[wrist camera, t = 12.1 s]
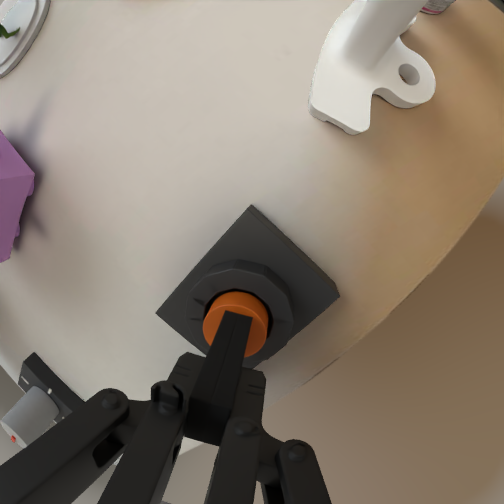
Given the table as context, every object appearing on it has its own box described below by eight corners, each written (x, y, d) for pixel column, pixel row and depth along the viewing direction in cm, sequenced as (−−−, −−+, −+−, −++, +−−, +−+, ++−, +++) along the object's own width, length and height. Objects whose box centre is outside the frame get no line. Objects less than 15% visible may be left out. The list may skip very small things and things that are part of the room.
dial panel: (90, 404, 28) (80, 417, 25) (74, 422, 30) (65, 433, 28) (34, 349, 26) (22, 360, 24) (26, 376, 29) (16, 385, 26)
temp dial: (34, 380, 25) (-2, 418, 17) (62, 408, 25) (30, 449, 17) (30, 393, 26) (-2, 427, 18) (55, 418, 27) (27, 454, 19)
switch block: (242, 362, 22) (234, 395, 19) (165, 300, 21) (144, 325, 18) (335, 283, 20) (345, 309, 16) (251, 204, 19) (243, 213, 15)
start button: (241, 351, 18) (237, 367, 16) (198, 316, 17) (190, 331, 16) (280, 318, 17) (280, 333, 15) (235, 279, 16) (230, 291, 15)
